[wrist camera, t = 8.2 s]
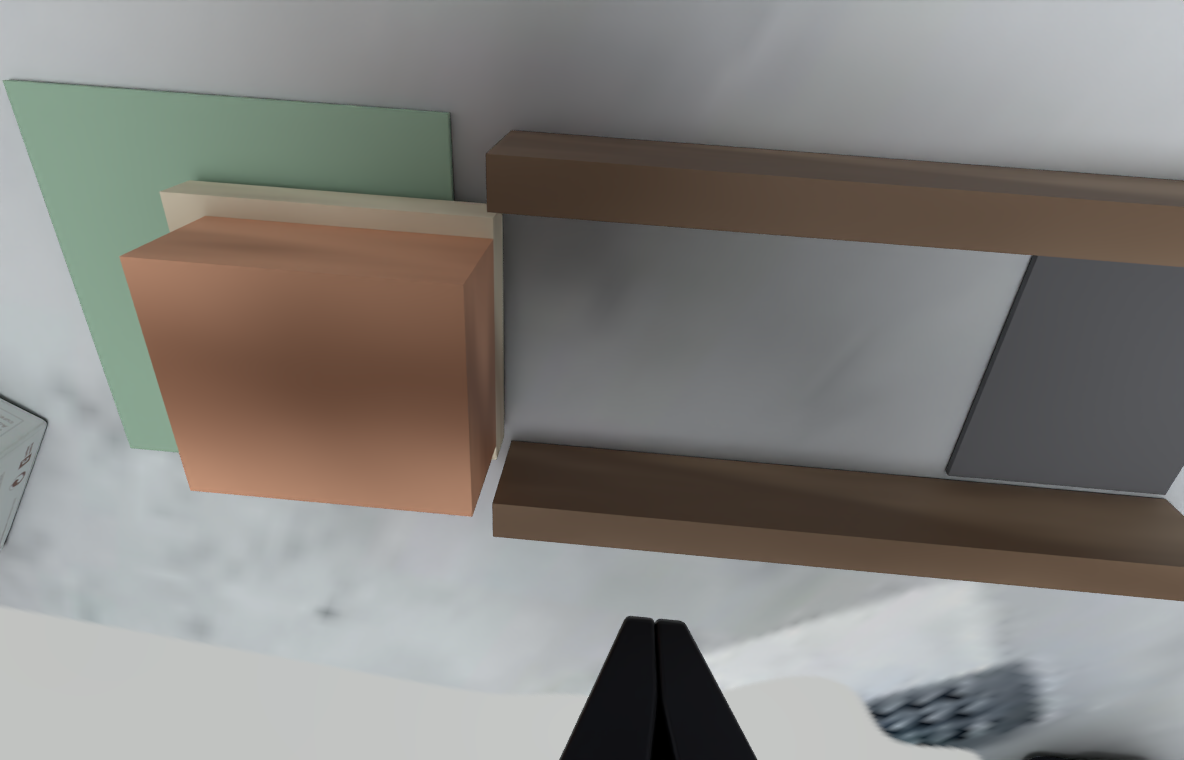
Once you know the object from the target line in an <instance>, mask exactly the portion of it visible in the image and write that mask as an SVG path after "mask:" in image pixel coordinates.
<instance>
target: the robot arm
mask: <svg viewBox="0 0 1184 760" xmlns="http://www.w3.org/2000/svg"><path fill="white" fill-rule="evenodd" d="M559 760H757V758H756V756H755V754H754V752H753V750H752V749H751V747H750V745H749V743H748V741H747V739H746V737H745V735H744V733H743V732H742V730H741V728H740V726H739V724H738V722H737V720H736V718H735V716H734V715H733V712H732V711H731V709H730V707H729V705H728V703H727V701H726V699H725V697H724V696H723V694H722V692H721V690H720V688H719V686H718V684H717V682H716V680H715V678H714V677H713V675H712V673H711V671H710V669H709V667H708V665H707V663H706V661H705V660H704V658H703V656H702V654H701V652H700V650H699V648H698V646H697V644H696V642H695V641H694V639H693V637H692V635H691V633H690V631H689V629H688V627H687V626H686V624H685V623H684V622H682V621H678V620H668V619H658V620H656V622H654V620H653V619H651V618H647V617H636V616H628V617H626V618H625V620H624V622H623V624H622V626H621V628H620V630H619V632H618V634H617V637H616V639H615V641H614V643H613V645H612V647H611V649H610V652H609V654H608V656H607V658H606V660H605V662H604V665H603V667H602V669H601V671H600V673H599V675H598V678H597V680H596V682H595V684H594V686H593V688H592V690H591V693H590V695H589V697H588V699H587V701H586V703H585V706H584V708H583V710H582V712H581V714H580V716H579V718H578V721H577V723H576V725H575V727H574V729H573V732H572V734H571V736H570V738H569V740H568V742H567V744H566V747H565V749H564V751H563V753H562V755H561V757H560V759H559ZM1030 760H1073V759H1063V758H1053V757H1035V758H1032V759H1030Z"/></svg>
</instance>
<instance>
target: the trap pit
mask: <svg viewBox="0 0 1184 760" xmlns="http://www.w3.org/2000/svg"><path fill="white" fill-rule="evenodd" d="M1183 466H1184V267H1176V266H1163V265H1150V264H1137V263H1125V262H1112V261H1099V260H1087V259H1074V258H1061V257H1049V256H1036V255H1033V257H1032V260H1031V262H1030V264H1029V267H1028V269H1027V272H1026V274H1025V277H1024V279H1023V282H1022V284H1021V287H1020V289H1019V292H1018V294H1017V297H1016V299H1015V301H1014V304H1013V306H1012V309H1011V311H1010V314H1009V316H1008V319H1007V321H1006V324H1005V326H1004V329H1003V331H1002V334H1001V336H1000V338H999V341H998V343H997V346H996V348H995V351H994V353H993V356H992V358H991V361H990V363H989V366H988V368H987V371H986V373H985V375H984V378H983V380H982V383H981V385H980V388H979V390H978V393H977V395H976V398H975V400H974V403H973V405H972V408H971V410H970V412H969V415H968V417H967V420H966V422H965V425H964V427H963V430H962V432H961V435H960V437H959V440H958V442H957V445H956V447H955V449H954V452H953V454H952V457H951V459H950V462H949V464H948V467H947V469H946V473H947V474H948V476H959V477H970V478H982V479H993V480H1004V481H1015V482H1027V483H1038V484H1049V485H1060V486H1072V487H1083V488H1094V489H1105V490H1116V491H1128V492H1139V493H1150V494H1161V495H1165V494H1166V493H1167V491H1168V490H1169V488H1170V486H1171V485H1172V483H1173V482H1174V480H1175V478H1176V477H1177V475H1178V474H1179V472H1180V470H1181V469H1182V467H1183Z"/></svg>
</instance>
